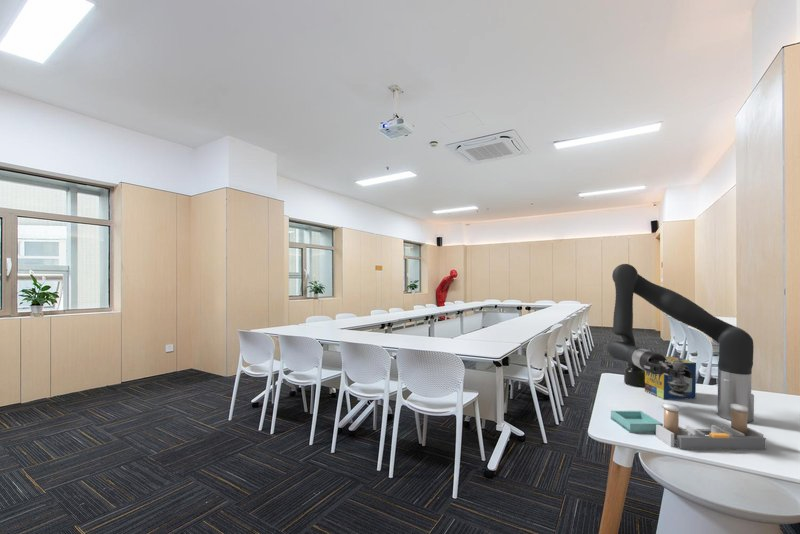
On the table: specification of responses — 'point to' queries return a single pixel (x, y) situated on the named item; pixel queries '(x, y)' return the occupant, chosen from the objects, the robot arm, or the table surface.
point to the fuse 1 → (671, 418)
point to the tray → (635, 421)
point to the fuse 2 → (739, 418)
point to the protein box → (659, 383)
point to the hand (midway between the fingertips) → (684, 375)
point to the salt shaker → (678, 380)
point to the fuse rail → (712, 438)
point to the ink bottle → (634, 375)
